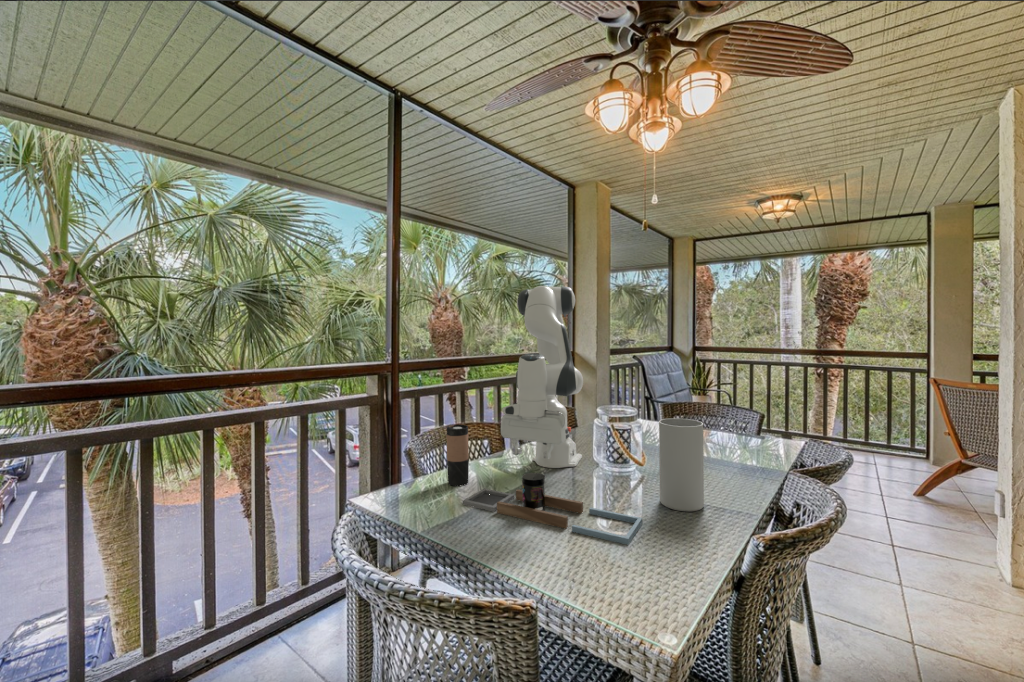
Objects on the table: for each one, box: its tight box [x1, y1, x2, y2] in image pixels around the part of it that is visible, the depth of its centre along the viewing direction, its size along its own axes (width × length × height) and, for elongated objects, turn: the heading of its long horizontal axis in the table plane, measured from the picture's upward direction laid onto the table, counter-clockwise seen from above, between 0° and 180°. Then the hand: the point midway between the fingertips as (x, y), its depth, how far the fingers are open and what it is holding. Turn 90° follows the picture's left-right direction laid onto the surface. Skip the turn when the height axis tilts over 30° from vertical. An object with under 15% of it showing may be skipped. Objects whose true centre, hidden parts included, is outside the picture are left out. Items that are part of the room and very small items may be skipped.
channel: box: [496, 489, 584, 530], centre depth 128 cm, size 12×22×3 cm, turn 59°
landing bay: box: [571, 507, 644, 546], centre depth 117 cm, size 14×15×2 cm
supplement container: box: [521, 472, 546, 511], centre depth 129 cm, size 7×7×10 cm
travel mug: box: [446, 424, 470, 487], centre depth 154 cm, size 8×8×20 cm
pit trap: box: [462, 488, 515, 512], centre depth 137 cm, size 12×12×1 cm
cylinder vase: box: [658, 417, 705, 513], centre depth 132 cm, size 12×12×25 cm
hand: (532, 455), depth 128 cm, fingers open, 8 cm apart
